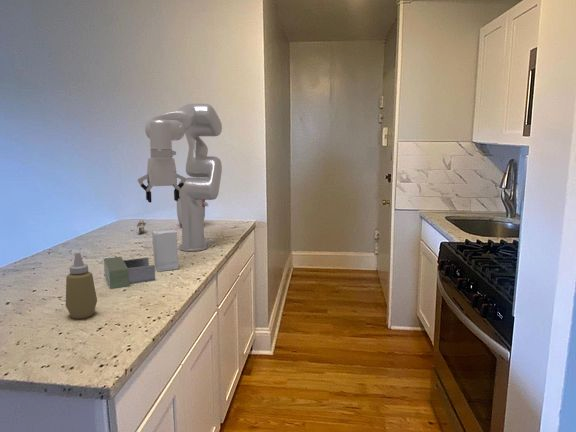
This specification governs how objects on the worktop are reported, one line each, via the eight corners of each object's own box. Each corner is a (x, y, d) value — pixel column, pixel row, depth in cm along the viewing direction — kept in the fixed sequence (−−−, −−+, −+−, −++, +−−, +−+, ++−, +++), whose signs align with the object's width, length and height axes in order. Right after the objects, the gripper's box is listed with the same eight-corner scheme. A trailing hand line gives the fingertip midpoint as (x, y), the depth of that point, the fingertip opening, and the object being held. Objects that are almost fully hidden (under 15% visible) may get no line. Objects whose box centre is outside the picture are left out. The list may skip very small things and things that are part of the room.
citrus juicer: (206, 230, 238) (205, 192, 235) (173, 229, 239) (172, 192, 235) (211, 224, 254) (210, 189, 250) (180, 223, 254) (179, 189, 250)
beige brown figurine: (154, 229, 239) (154, 217, 238) (153, 237, 222) (152, 224, 221) (131, 230, 237) (130, 218, 236) (127, 238, 219) (126, 225, 218)
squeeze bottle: (73, 310, 129) (68, 249, 126) (102, 309, 130) (97, 249, 127) (61, 321, 121) (56, 257, 118) (92, 320, 122) (87, 257, 119)
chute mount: (147, 269, 168) (146, 253, 167) (156, 282, 154) (156, 265, 153) (104, 274, 162) (103, 258, 161) (110, 288, 147) (109, 271, 146)
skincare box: (175, 265, 174) (174, 228, 171) (179, 269, 168) (177, 231, 166) (153, 268, 170) (151, 230, 167) (156, 272, 165) (154, 233, 162)
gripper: (182, 154, 169) (183, 198, 172) (134, 154, 161) (136, 201, 164) (187, 154, 162) (189, 201, 165) (138, 155, 154) (140, 204, 157)
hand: (163, 201), depth 164 cm, fingers open, 9 cm apart
